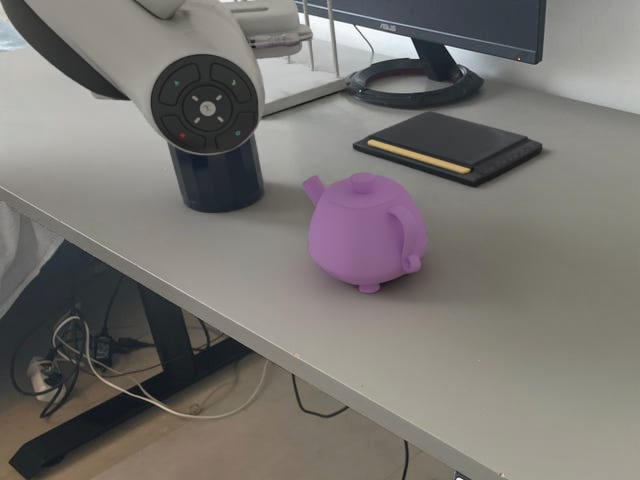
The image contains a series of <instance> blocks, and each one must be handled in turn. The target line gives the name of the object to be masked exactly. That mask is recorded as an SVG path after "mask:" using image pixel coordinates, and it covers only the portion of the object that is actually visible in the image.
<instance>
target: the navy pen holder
mask: <svg viewBox="0 0 640 480" xmlns="http://www.w3.org/2000/svg"><path fill="white" fill-rule="evenodd" d="M166 144H167V147H168V152H169V155H170V158H171V162H172V166H173V169H174V174H175V176H176V180H177V185H178V188H179V192H180V195H181V198H182V201H183V204H184V205H185V206H186V207H187V208H189V209H190V210H194V211H198V212H201V213H224V212H232V211H236V210H240V209H244V208H247V207H249V206H251V205H254V204H256V203H257V202H258V201H260V200H261V199H262V198H263V196H264V195H265V192H266V191H265V185H264V184H265V182H264V177H263V172H262V166H261V161H260V157H259V152H258V146H257V141H256V135H255V132H254V133H253V134H252V136H251V137H250V138H249V139H248V140H247V141H246V142H244V143H243V144H242V145H240V146H239V147H237V148H235V149H233V150H231V151H228V152H225V153H221V154H216V155H198V154H192V153H188V152H185V151H183V150H180V149H178V148H176V147H174V146H173V145H171V144H170V143H168V142H167V141H166Z"/></svg>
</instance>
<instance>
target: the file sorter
mask: <svg viewBox="0 0 640 480" xmlns="http://www.w3.org/2000/svg"><path fill="white" fill-rule="evenodd" d="M236 1H248V0H233V2H236ZM301 1H302V9H303V17H304V25H307V26H309V27H310V28H311V25H310V17H309V16H310V15H309V8H308V6H309V5H308V0H301ZM326 4H327V13H328V21H329V23H328V24H329V30H330V40H331V50H332V61H333V69H334V73H331V72H328V71H325V70H322V69H318V68H315V61H314V53H313V43H312V40H311V41H306V43H307V52H308V53H307V54H308V60H309V66H307V65H305V64H300V63H298V62H294V61H291V55H290V56H285V59H284V58H281V57H274V58H264V59H256V60H257V62H258V65H259V68H260V70H261V74H262V78H263V82H264V89H265V106H264V111H263V115H262V117H264V116H267V115H270V114H274V113H276V112H279V111H282V110H285V109H288V108H291V107H294V106H297V105H300V104H303V103H306V102H309V101H312V100H315V99H319V98H321V97H324V96H327V95H330V94H333V93H336V92H340V91H342V90H345V89H347V88H346V86H347V78H346V76H342V75H340V68H339V60H338V59H339V58H338V48H337V39H336V38H337V37H336V27H335V20H334V11H333V10H334V9H333V1H332V0H326Z"/></svg>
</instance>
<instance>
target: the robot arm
mask: <svg viewBox="0 0 640 480" xmlns="http://www.w3.org/2000/svg"><path fill="white" fill-rule="evenodd" d="M0 4H1V7H2V10H3V12H4V14H5V15H6V17H7V19H8V20H9V22H10V23H11V25H12V27H14V29H15V30H16V31H17V33H18V34H19V35H20V36H21V38H22V39H23V40H24V41H26V42H27V44H28V45H30V47H31V48H32V49H34V51H36V52H37V53H38V55H40V56H41V57H42V58H43V59H44V60H46V62H48V63H49V64H50V65H52V66H53V67H54V68H55V69H57V71H59V72H61V73H62V74H63V75H65V77H68V78H69V79H70V80H72V81H73V82H74V83H77V85H80V86H81V87H83V88H84V89H86V90H88V91H89V92H90V94H91V96H92V98H95V99H97V100H104V101H105V100H106V101H107V100H111V101H125V102H132V103H133V105H135V107H136V108H137V109H138V111H139V112H140V113H141V115H142V116H143V117H144V119H145V120H146V122H147V123H148V124H149V126H150V127H151V128H152V130H154V132H155V133H157V135H158V136H159V137H161V138H162V139H163V140H165V141H166V143H167V142H168V143H170V144H171V145H173V146H174V147H176V148H178V149H180V150H183V151H185V152H188V153H192V154H198V155H216V154H221V153H225V152H228V151H231V150H233V149H235V148H237V147H239V146H240V145H242V144H243V143H244V142H246V141H247V140H248V139H249V138H250V137H251V136H252V134H253V133H254V134H255V132H256V130H257V129H258V126H259V124H260V123H261V120H262V118H263V116H262V115H263V111H264V106H265V89H264V82H263V78H262V74H261V70H260V68H259V65H258V62H257V60H256V59H264V58H274V57H277V58H282V57H284V58H285V57H286V56H290V57H291V56H294V55H296V54H299V53H300V52H301V51H302V48H303V42H307V41H311V42H312V40H313V37H314V33H313V31H312V29H311V26H310V27H309V26H307V25H305V23H301V21H300V16H299V15H300V14H299V8H298V6H297V3H296V2H295V0H247V1H240V0H238V1H236V2H234V1H223V2H222V1H220V0H0Z"/></svg>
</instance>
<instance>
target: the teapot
mask: <svg viewBox="0 0 640 480" xmlns="http://www.w3.org/2000/svg"><path fill="white" fill-rule="evenodd" d="M301 186H302V188H303V190H304V191H305V192H306V194H307V195H308V197H309V198H310V200H311V202H312V203H313V204H314V206H315V209H314V211H313V214H312V217H311V221H310V226H309V229H308V230H309V231H308V249H309V251H308V252H309V254H310V256H311V259H312V261H314V262H315V263H316V264H317V265H318V266H319V267H320V268H321V269H322V270H323V271H324V272H326V273H327V274H328V275H329V276H331V277H333V278H335V279H336V280H339V281H341V282H344V283H346V284H350V285H356V286H358V290H359V291H360V292H361V293H364V294H374V293H376V292H378V291H379V290H380V288H381V287H380V284H382V283H386V282H388V281H391V280H396V279H397V278H400V277H402V276H404V275H408V274H410V275H411V274H413V273H416V272H418V271H420V269H421V268H422V262H421V260H422V258H423V257H424V255H425V253H426V252H427V250H428V246H429V237H428V230H427V226H426V223H425V220H424V217H423V215H422V213H421V211H420V209H419V207H418V205H417V203H416V202H415V201H414V199H413V198H412V196H411V194H410V193H409V191H408V190H407V189H406V187H405V186H404V185H402V184H401V183H400V182H398V181H396V180H394V179H391V178H389V177H386V176H383V175H379V174H373V173H371V172H366V171H360V172H356V173H354V174H352V175H350V177H347V178H343V179H341V180H338V181H336V182H334V183H332V184H330V185H329V186H328V187H326V186H325V184H324V183H323V181H322V180H321V178H320V177H319V176H318V175H317V174H316V175H312V176H310V177H308V178H307V179H305V180H304V181H303V182H302V183H301Z"/></svg>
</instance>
